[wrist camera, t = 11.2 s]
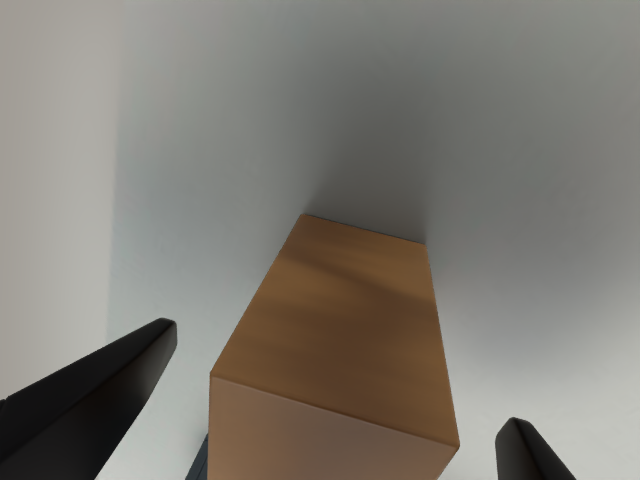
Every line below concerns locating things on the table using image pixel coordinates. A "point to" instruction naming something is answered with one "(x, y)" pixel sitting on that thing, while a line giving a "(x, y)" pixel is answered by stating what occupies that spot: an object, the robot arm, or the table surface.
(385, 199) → the table surface
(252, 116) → the table surface
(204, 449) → the bin
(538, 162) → the table surface
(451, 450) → the block
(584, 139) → the table surface
